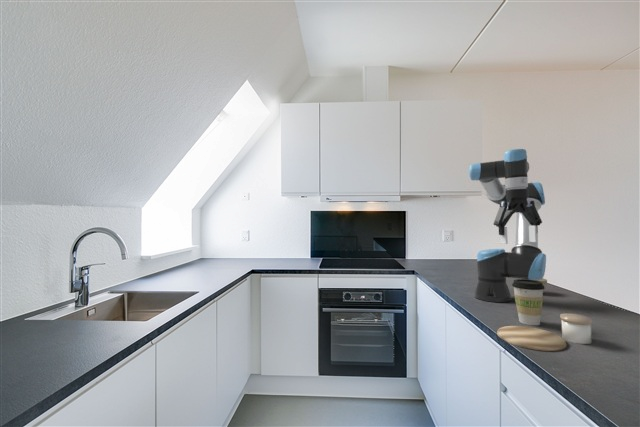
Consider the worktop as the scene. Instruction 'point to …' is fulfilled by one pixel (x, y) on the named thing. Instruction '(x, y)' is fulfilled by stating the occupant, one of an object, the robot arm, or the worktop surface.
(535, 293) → the coffee cup
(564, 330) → the sugar jar
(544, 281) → the flower pot
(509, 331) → the round wooden board
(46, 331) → the worktop surface
